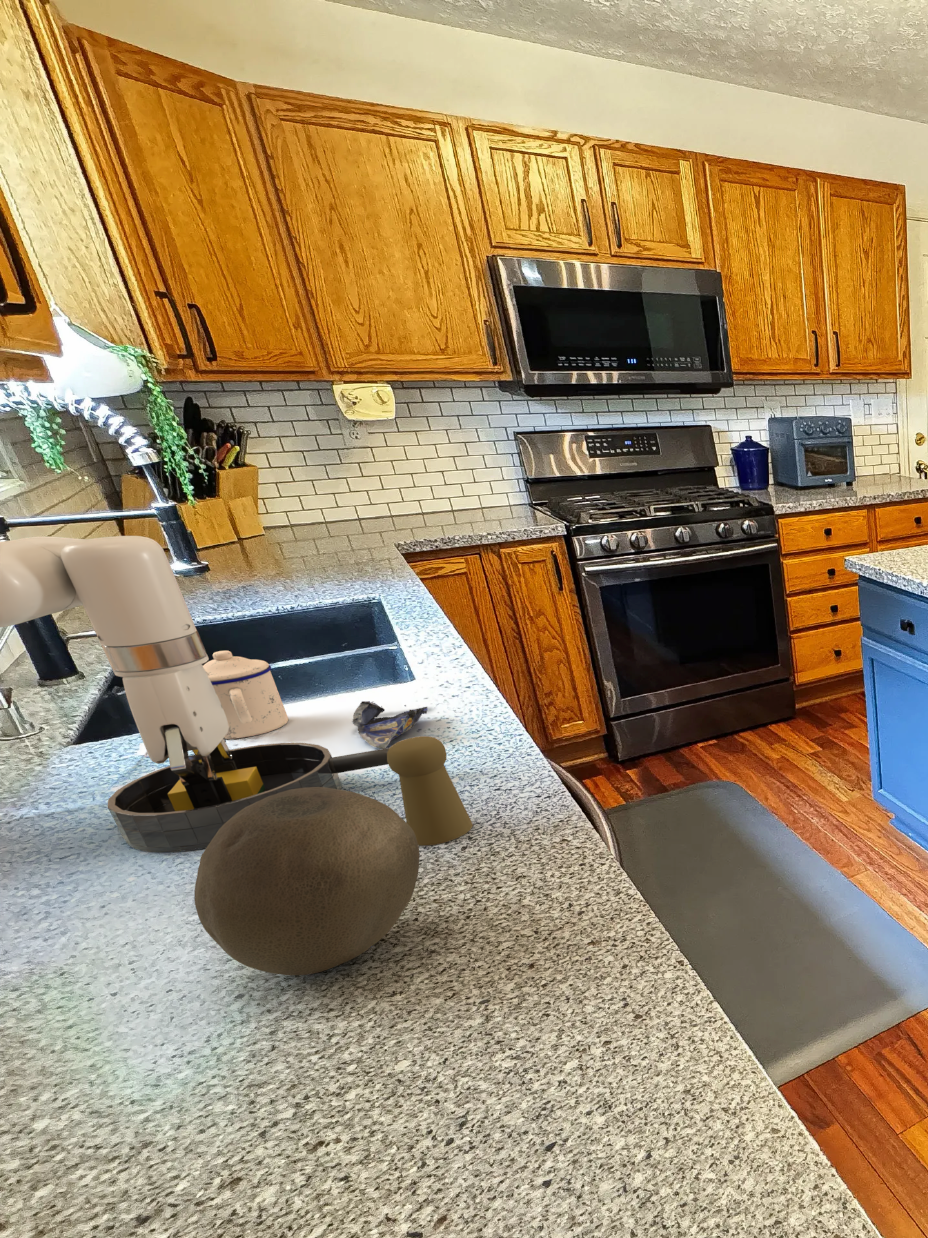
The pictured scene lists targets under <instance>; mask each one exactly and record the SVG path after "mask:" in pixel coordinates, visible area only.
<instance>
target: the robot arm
mask: <svg viewBox="0 0 928 1238" xmlns="http://www.w3.org/2000/svg"><path fill="white" fill-rule="evenodd" d="M78 607H83V609H84V611H85V613H86V615H87V618H88V619H89V622H90V624H91V626H92V628H93V630H94V633H95V635H96V637H97V640H98V641H99V644H100V646H101V648H102V650H103V652H104V654H105V656H106V659H107V661H108V663H109V665H110V667H111V669H112V671H113V674H114V675H115V676H116V677H120V678H122V684H123V687H124V692H125V696H126V700H127V702H128V705H129V708H130V711H131V714H132V717H133V719H134V723H135V725H136V728H137V730H138V733H139V735H140V738H141V741H142V743H143V745H144V747H145V750H146V752H147V755H148V757H149V759H150V761H151V762H153V763H154V764H158V765H160V764H164V763H165V762H166V761H167V760H169V761H168V762H169V766H170V768H171V771H172V772H173V773H175V774H177V775H179V777H180V780H181V783H182V784H183V785H184V787H185V789H186V791H187V793H188V796H189V798H190V800H191V802H192V804H193V807H194V809H197V808H202V807H208V806H213V805H218V804H222V803H227V802H231V801H232V799H231V797H230V794H229V792H228V790H227V787H226V785H225V783H224V781H223V778H222V777H217V774H216V773H220V772H226V771H232V770H238V769H237V767H236V764H235V762H234V760H232V754H231V752H230V750H231V749H230V748H229V746H228V744H227V743H226V742H227V740H226V739H225V738H224V737H225V735H226V734H227V732H228V730H229V725H228V721H227V718H226V715H225V713H224V710H223V707H222V705H221V703H220V700H219V698H218V696H217V694H216V692H215V690H214V687H213V685H212V683H211V681H210V679H209V677H208V675H207V673H206V671H205V669H204V668H203V665H204V664H206V663H207V662H209V661H210V660H209V659H210V658H209V656H208V654H207V651H206V649H205V646H204V644H203V641H202V639H201V636H200V634H199V631H198V630H197V627H196V625H195V622H194V620H193V617H192V616H191V615H192V614H191V613H190V610H189V607H188V605H187V603H186V601H185V598H184V596H183V593H182V591H181V588H180V586H179V583H178V580H177V579H176V576H175V574H174V572H173V569H172V566H171V564H170V562H169V559H168V557H167V554H166V553H165V550H164V548H163V546H161V544H160V543H158V541H156V540H155V539H153V538H151V537H146V536H141V535H116V536H103V537H94V538H76V537H75V538H73V537H62V536H48V535H47V536H46V535H45V536H44V535H41V536H29V537H22V538H16V539H11V540H6V541H5V540H4V541H0V628H6V627H7V628H8V627H11V626H15V625H19V624H23V623H26V622H29V621H32V620H35V619H38V618H43V617H45V616H48V615H52V614H57V613H61V612H63V611H68V610H70V609H75V608H78ZM191 751H192V752H193V754H192V755H189V752H191ZM197 760H198V761H199V763H200V764H201V765H202V766H200V765H199V764H195V765H194V764H193V763H192V762H191V761H197ZM227 760H232V761H227Z"/></svg>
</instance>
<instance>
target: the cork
mask: <svg viewBox="0 0 928 1238" xmlns="http://www.w3.org/2000/svg"><path fill="white" fill-rule="evenodd" d="M388 748H389V750H388V752H387V762H388V767H389V768H390V769H391V771H392V772H393V773H395V774H397V775H398V778H399V786H400V791H401V796H402V797H401V799H402V803H403V810H404V816H405V822H406V823H407V824H408V825H409V826H410V827H411V828H412V830H413V831H414V833H415V836H416V839H417V843H418V847H423V846H426V847H427V846H435V845H440V844H444V843H448V842H451V841H453V840H456V839H459V838H460V837H462V836H464V835H466V834H467V833H469V832H470V831H471V830H472V828H473V827H474V824H473V821H472V819H471V818H470V815H469V813H468V811H467V810H466V807H465V805H464V803H463V801H462V799H461V797H460V795H459V793H458V790H457V788H456V787H455V784H454V782H453V781H452V779H451V776H450V773H449V772H448V770H447V768H446V766H445V763H446V761H447V758H448V757H447V750H446V747H445V744H444V743H443V742H442V741H441V740H439V739H438V738H436V737H433V736H429V735H425V736H424V735H422V736H412V737H408V738H405V739H402V740H399V741H396V742H395V743H393V744H392V745H391V746H390V747H388Z"/></svg>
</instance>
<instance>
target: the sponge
mask: <svg viewBox="0 0 928 1238" xmlns="http://www.w3.org/2000/svg"><path fill="white" fill-rule="evenodd" d="M216 774H217V777H222V778H223V781H224V783H225V785H226V787H227V790H228V792H229V794H230V797H231V799H232V801H235V800H239V799H243V798H247V797H250V796H253V795H256V794H259V793H262V792H263V791H264V790H265V787H264V785H263V782H262V780H261V777H260V775H259V772H258V770H257V767H250V768H244V769H238V770H232V771H226V772H220V773H216ZM168 796H169V799H170V801H171V803H172V805H173V807H174V810H175V811H184V810H191V809H194V807H193V804H192V802H191V800H190V798H189V796H188V793H187V791H186V789H185V787H184V785H183V784H182V783H181V780H179V781H178V782H177V783H176V784H175V786H174V787H173V788H172V789H171V790H170V792H169V793H168Z"/></svg>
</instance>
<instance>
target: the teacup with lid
mask: <svg viewBox="0 0 928 1238" xmlns="http://www.w3.org/2000/svg"><path fill="white" fill-rule="evenodd" d="M212 658H213V659H211V660H208V661H207V662H205V663H203V664H202V666H203V668H204V669H205V671H206V673H207V675H208V677H209V679H210V681H211V683H212V685H213V687H214V690H215V692H216V694H217V696H218V698H219V700H220V703H221V705H222V707H223V710H224V713H225V715H226V718H227V721H228V725H229V730H228V732H227V734H226V735H225V737H224V738H225V739H224V740H230V739H231V740H233V739H242V738H243V739H244V738H249V737H254V736H259V735H262V734H266V733H270V732H272V731H276V730H278V729H280V728H281V727H284V726H285V725H286V724H287V723H288V722H289V716H288V715H287V711H286V709H285V706H284V702H283V701H282V698H281V696H280V693H279V691H278V688H277V684H276V682H275V679H274V677H273V675H272V672H271V670H272V666H271V665H270V663H268V662H267V661H265V660H262V659H250V658H247V657H243V656H234V655H233V653H232V651H229V650H219V651H214V652H213V654H212Z"/></svg>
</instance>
